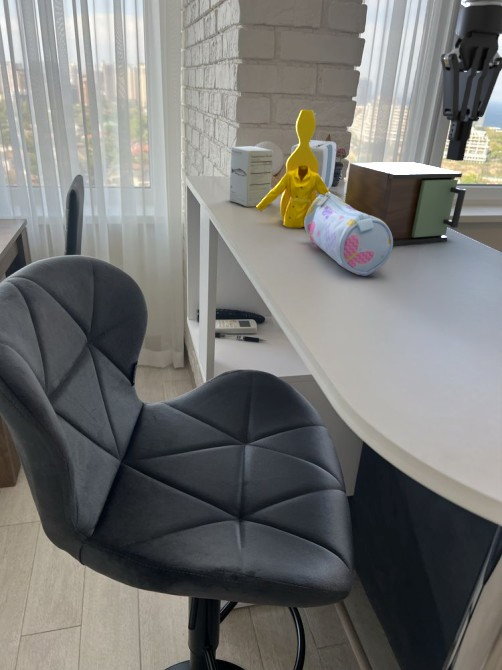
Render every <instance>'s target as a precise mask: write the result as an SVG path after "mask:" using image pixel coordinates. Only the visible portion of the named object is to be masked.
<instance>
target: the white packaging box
mask: <svg viewBox="0 0 502 670" xmlns="http://www.w3.org/2000/svg"><path fill="white" fill-rule="evenodd" d="M274 153H275V151H274V150H272V149H269V148H265V147H259V146H254V145H250V146H249V145H247V146H245V145H244V146H231V149H230V175H229V198H228V200H229V202H233V203H237V204H238V205H242V206H243V207H245V208H249V207H257V206H258V205H259V203H260V202H261V201H262V200H263V199H264V198H265V196H266V195H267V194H268V193H269V192H270V191H271V190H272V176H273V162H274Z"/></svg>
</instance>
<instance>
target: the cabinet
mask: <svg viewBox="0 0 502 670" xmlns="http://www.w3.org/2000/svg"><path fill="white" fill-rule="evenodd" d="M348 168H349V169H348V175H347V181H346V182H347V183H346V189H345V197H344V198H345V199H344V202H345V203H346V204H348V205H350V206H351V207H352V208H354V209H355V210H357V211H359V212H362V213H365V214H367V215H370V216H373V217H376V218H378V219H380V220H382V221H383V222H384V223H385V224H386V225H387V226H388V227H389V229H390V231H391V234H392V237H393V247H395V246H405V245H408V246H409V245H418V244H429V243H440V242H447V241H448V236H446V235H438V236H426V237H412V231H413V225H414V220H415V215H416V210H417V205H418V200H419V195H420V190H421V185H422V180H432V179H457V178H462V176H463V172H460V171H455V170H450V169H445V168H440V167H436V166H432V165H427V164H423V163H417V162H350V163H349V167H348Z"/></svg>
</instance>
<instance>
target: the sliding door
mask: <svg viewBox="0 0 502 670" xmlns="http://www.w3.org/2000/svg"><path fill="white" fill-rule="evenodd" d="M458 182H459V179H457V178H455V179H432V180H422V185H421V190H420V195H419V200H418V205H417V210H416V215H415V220H414V225H413V231H412V237H426V236H438V235H442V236H446V234H447V230H448V226H450V228H458V227H459V222H460V217H461V214H462V208H463V205H464V201H465V196H466V192H467V189H465V188H458V187H457V186H458ZM455 194H456V195H457V197H456V201H455V206H454V210H453V214H452V219H450V217H451V213H452V208H453V204H454V199H455V196H456V195H455Z"/></svg>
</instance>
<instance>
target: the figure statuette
mask: <svg viewBox="0 0 502 670" xmlns="http://www.w3.org/2000/svg"><path fill="white" fill-rule="evenodd" d="M314 113H315V112H314V110H313V109H301V110H300V112H299V114H298V117H297V119H296V121H295V122H296V123H295V132H296V135H297V138H298V144H299V145H298V147H297V148H296V150H295V151H294V152H293V153H292V152H291V154H290V156H289V157H288V158H287V160H286V163H285V167H286V168H285V170H286V172H285V174H284V175H283V176H282V177H281V179H280V180H279V182H278V183H277V184H276V185H274V187H273V188H271V191H270V192H269V193H268V194H267V195H266V196H265V198H264V199H263V200H262V201H261V202H260V203H259V205H258V206H255V207H256V209H257V210H258V211H259V212H262V211H264V210H265V209H266V208H267V207H269V205H271V204H272V203H273V202H274V201H275V200H276V199H277V198H279V197H280V196H281V198H280V203H279V209H280V211H279V212H280V216H281V220H282V221H283V226H285V227H286V228H289V229H290V228H292V229H296V228H297V229H298V228H300V229H301V228H303V227H304V228H305V226H304V222H305V217H306V214H307V212H308V210H309V208H310V206H311V204H312V203H313V202H314V200H315V199H316V198H317V195H316V191H317V192H318V194H319V195H323V196H324V195H325V194H326V193H327V192H329V193H331V191H330V189H328V188H327V187H326V185H325V183H324V182H323V180H322V179H321V177H320V176H319V174H317V172H318V167H319V165H318V161H317V159H316V157H315V156H314V154H313V152H312V150H311V148H310V146H309V142H310V140H312V138H313V136H314V133H315V132H316V131H315V130H316V127H317V126H316V125H317V123H316V122H317V121H316V118H315V116H314ZM315 190H316V191H315Z"/></svg>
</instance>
